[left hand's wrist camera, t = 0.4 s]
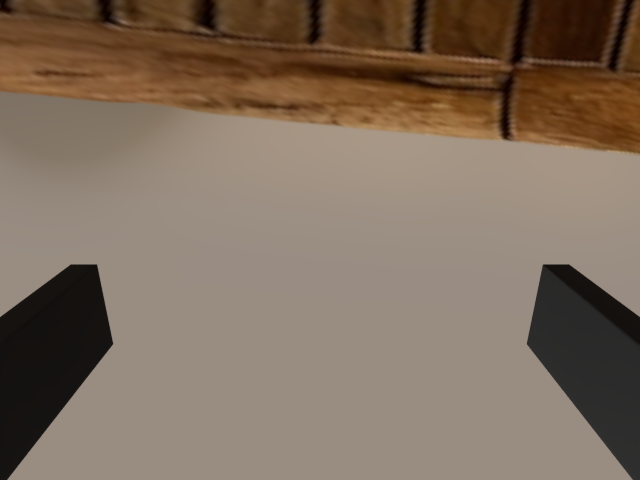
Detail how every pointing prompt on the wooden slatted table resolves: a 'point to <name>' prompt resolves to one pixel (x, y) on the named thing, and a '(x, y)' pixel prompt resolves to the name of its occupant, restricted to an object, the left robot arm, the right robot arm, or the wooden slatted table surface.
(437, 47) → the wooden slatted table surface
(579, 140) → the wooden slatted table surface
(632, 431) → the left robot arm
